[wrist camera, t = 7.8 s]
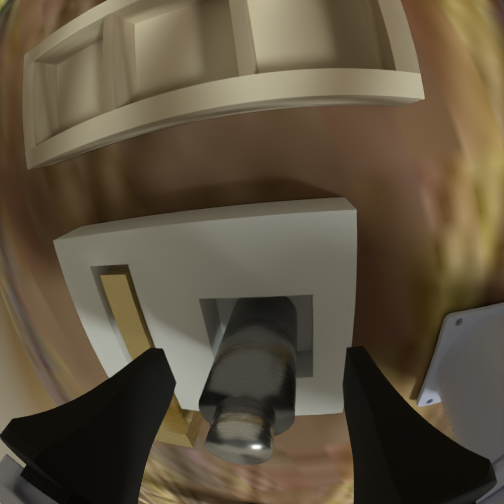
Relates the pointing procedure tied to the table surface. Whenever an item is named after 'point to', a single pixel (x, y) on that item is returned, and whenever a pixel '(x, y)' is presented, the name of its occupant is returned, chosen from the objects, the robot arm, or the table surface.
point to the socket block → (224, 286)
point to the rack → (208, 66)
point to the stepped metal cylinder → (252, 381)
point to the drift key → (138, 341)
